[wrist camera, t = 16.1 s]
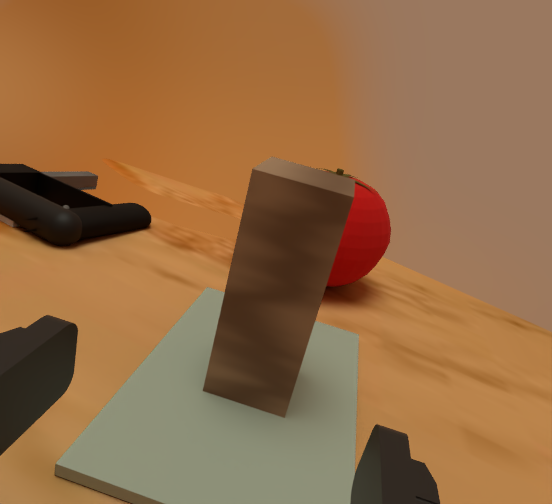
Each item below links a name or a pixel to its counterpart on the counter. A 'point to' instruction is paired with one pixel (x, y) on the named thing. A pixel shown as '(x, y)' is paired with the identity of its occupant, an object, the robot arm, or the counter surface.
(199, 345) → the mat
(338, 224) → the walnut block
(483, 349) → the counter surface
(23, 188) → the door handle
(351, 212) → the tomato
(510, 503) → the counter surface
